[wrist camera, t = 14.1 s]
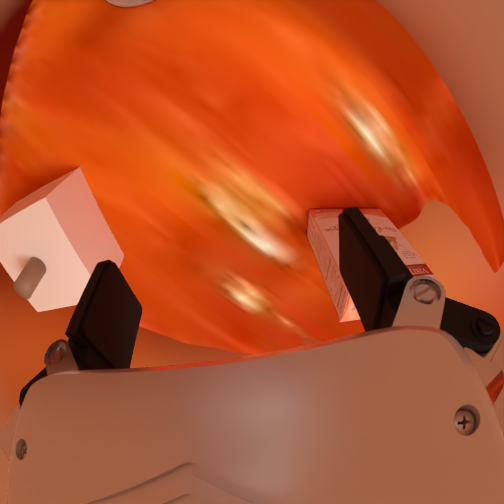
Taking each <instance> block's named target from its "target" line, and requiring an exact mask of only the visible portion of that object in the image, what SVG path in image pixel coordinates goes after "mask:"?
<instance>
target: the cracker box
mask: <svg viewBox="0 0 504 504" xmlns="http://www.w3.org/2000/svg"><path fill="white" fill-rule="evenodd" d="M344 209H346V208H344ZM359 210H360V211H361V212H362V213H363V215H364V216H365V217H366V219H367V220H368V221H369V222H370V224H371V225H372V226H373V228H374V229H375V230H376V232H377V233H378V234H379V235H383V236H384V237H385V238H386V239H387V240H388V242H389V243H390V244H391V246H392V247H393V248H394V250H395V251H396V253H397V254H398V255H399V257H400V258H401V260H402V261H403V262H404V264H405V265H406V267H407V268H408V269H409V271H410V272H411V274H412V275H413V277H416V276H422V275H424V276H430V277H432V278H435V276H434V275H433V273H432V272H431V271H430V269H429V268H428V267H427V265H426V264H425V263H424V261H423V260H422V259H421V258H420V256H419V255H418V254H417V253H416V251H415V250H414V249H413V248H412V246H411V245H410V244H409V243H408V241H407V240H406V239H405V238H404V236H403V235H402V234H401V233H400V232H399V230H398V229H397V228H396V227H395V226H394V225H393V223H392V222H391V221H390V220H389V219H388V218H387V217H386V215H385V214H384V213H383V212H382V211H381V210H380V209H379V208H359ZM342 211H343V209H309V217H308V227H307V238H308V241H309V243H310V246H311V248H312V251H313V253H314V256H315V258H316V260H317V263H318V266H319V268H320V271H321V273H322V276H323V278H324V281H325V283H326V286H327V288H328V291H329V294H330V296H331V299H332V301H333V304H334V307H335V309H336V312H337V315H338V317H339V320H340V322H344V321H351V320H358V319H360V317H359V314H358V312H357V310H356V308H355V305H354V303H353V301H352V298H351V296H350V294H349V292H348V289H347V287H346V285H345V283H344V281H343V278H342V276H341V274H340V270H339V223H338V215H339V214H340V213H342ZM435 279H436V278H435ZM436 280H437V279H436Z"/></svg>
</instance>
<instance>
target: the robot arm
mask: <svg viewBox="0 0 504 504" xmlns="http://www.w3.org/2000/svg"><path fill="white" fill-rule="evenodd" d="M106 1H107V2H109V3H110V4H112V5H115V6H118V7H125V8H129V7H137V6H142V5H145V4H148V3H151V2H153V1H155V0H106ZM338 223H339V270H340V274H341V276H342V278H343V281H344V283H345V285H346V287H347V289H348V292H349V294H350V296H351V298H352V301H353V303H354V305H355V308H356V310H357V312H358V314H359V317H360V319H361V322H362V324H363V326H364V329H365V331H366V332H362V333H358V334H353V335H349V336H345V337H341V338H336V339H332V340H328V341H323V342H318V343H314V344H309V345H304V346H299V347H294V348H289V349H284V350H279V351H274V352H268V353H262V354H256V355H251V356H244V357H237V358H231V359H223V360H216V361H208V362H200V363H191V364H181V365H170V366H159V367H145V368H130V364H131V359H132V354H133V349H134V345H135V340H136V335H137V331H138V327H139V323H140V319H141V315H142V307H141V304H140V303H139V301H138V300H137V298H136V296H135V295H134V293H133V292H132V290H131V288H130V287H129V285H128V283H127V282H126V280H125V278H124V277H123V275H122V273H121V271H120V270H119V268H118V266H117V265H116V263H115V262H112V261H111V260H105V261H101V262H98V263H97V264H96V266H95V268H94V270H93V272H92V274H91V276H90V278H89V280H88V283H87V285H86V287H85V289H84V291H83V293H82V295H81V297H80V300H79V302H78V304H77V306H76V309H75V311H74V313H73V316H72V318H71V320H70V323H69V325H68V328H67V330H66V333H65V334H66V335H67V337H68V338H69V340H68V342H67V341H66V340H64V339H60V340H57V341H55V342H54V343H52V344H51V345H50V346H49V348H48V350H47V351H46V353H45V357H44V362H45V368H44V369H43V370H42V371H41V372H40V373H39V374H38V375H36V376H35V377H34V378H33V379H32V380H31V381H30V382H29V383H28V384H27V385H26V386H25V387H23V389H22V390H21V393H20V399H19V402H20V406H21V407H19V406H18V405H17V407H16V409H15V410H14V412H13V413H12V415H11V416H10V418H9V420H8V421H7V423H6V424H5V426H4V428H3V429H2V431H1V433H0V445H1V448H2V450H3V451H4V453H5V455H6V456H7V458H8V460H9V461H10V464H9V473H8V490H7V491H8V492H7V504H504V334H502V333H501V332H500V326H499V323H498V322H497V320H496V319H495V318H494V317H493V316H492V315H491V314H489V313H487V312H485V311H482V310H479V309H477V308H474V307H471V306H468V305H466V304H463V303H460V302H457V301H455V300H452V299H449V298H446V297H445V290H444V287H443V285H442V284H441V283H440V282H439V281H438V280H436V279H435V278H432V277H430V276H424V275H422V276H416V277H413V275H412V274H411V272H410V271H409V269H408V268H407V267H406V265H405V264H404V262H403V261H402V260H401V258H400V257H399V255H398V254H397V253H396V251H395V250H394V248H393V247H392V246H391V244H390V243H389V242H388V240H387V239H386V238H385V237H384V236H383V235H379V234H378V233H377V232H376V230H375V229H374V228H373V226H372V225H371V224H370V222H369V221H368V220H367V219H366V217H365V216H364V215H363V213H362V212H361V211H360V210H359V208H358V207H352V208H347V209H343V211H342V213H340V214H339V215H338Z"/></svg>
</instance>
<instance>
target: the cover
mask: <svg viewBox="0 0 504 504" xmlns="http://www.w3.org/2000/svg"><path fill="white" fill-rule="evenodd" d="M123 258H124V254H123V252H122V250H121V249H120V247H119V245H118V243H117V241H116V239H115V238H114V236H113V234H112V232H111V230H110V228H109V226H108V224H107V222H106V221H105V219H104V217H103V215H102V213H101V211H100V209H99V207H98V205H97V202H96V200H95V198H94V196H93V194H92V192H91V190H90V188H89V186H88V183H87V181H86V179H85V177H84V174H83V172H82V170H81V168H80V167H79V168H77V169H75V170H73V171H71V172H69V173H67V174H65V175H63V176H61V177H59V178H57V179H55V180H53V181H51V182H50V183H48V184H46V185H44V186H42V187H41V188H39V189H37V190H35V191H34V192H32V193H30V194H29V195H27V196H25V197H24V198H22V199H20V200H19V201H17V202H16V203H14V204H13V205H12V206H11V207H10V208H9V209H8V210H7V211H6V212H5V213H4V214H3V215H2V216H1V217H0V262H1V263H2V265H3V266H4V268H5V269H6V271H7V272H8V274H9V275H10V276H11V278H12V279H13V281H14V285H13V286H14V289H15V291H16V292H17V293H18V295H20V296H21V297H22V298H25V299H28V301H29V302H30V303H31V304H32V306H33V307H34V308H35V309H36V310H37V312H41V311H46V310H51V309H57V308H61V307H67V306H72V305H77V304H78V302H79V300H80V297H81V295H82V293H83V291H84V289H85V287H86V285H87V283H88V280H89V278H90V276H91V274H92V272H93V270H94V268H95V266H96V264H97V263H98V262H101V261H105V260H111V261H112V262H115V263H116V265H117V266H118V268H119V267H120V265H121V263H122V260H123Z"/></svg>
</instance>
